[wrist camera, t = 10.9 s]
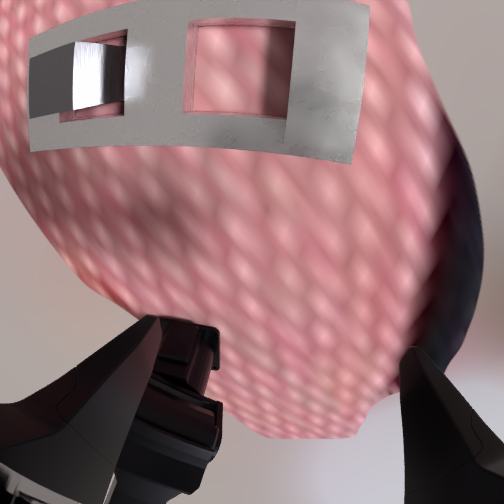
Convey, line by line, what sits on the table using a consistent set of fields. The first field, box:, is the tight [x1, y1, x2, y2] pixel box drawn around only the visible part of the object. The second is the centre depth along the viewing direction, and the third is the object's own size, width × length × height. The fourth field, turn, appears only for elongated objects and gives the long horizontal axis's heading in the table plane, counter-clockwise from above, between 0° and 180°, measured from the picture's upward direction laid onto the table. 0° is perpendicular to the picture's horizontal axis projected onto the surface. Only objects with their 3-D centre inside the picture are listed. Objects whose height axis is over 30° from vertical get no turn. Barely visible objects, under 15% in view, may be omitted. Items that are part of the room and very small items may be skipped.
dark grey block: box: [29, 41, 126, 119], centre depth 13 cm, size 4×4×6 cm
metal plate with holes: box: [27, 0, 370, 165], centre depth 14 cm, size 10×24×2 cm, turn 86°
